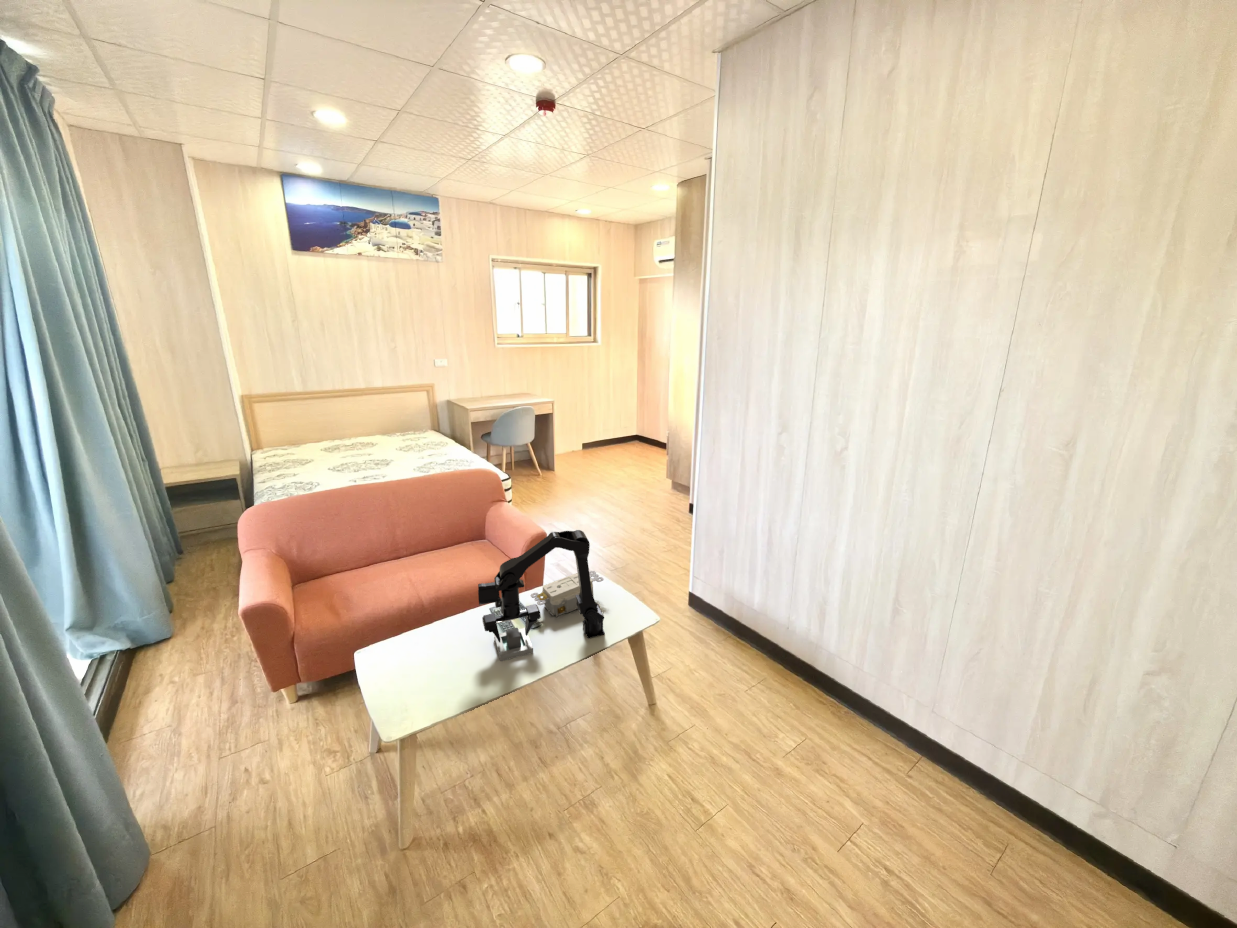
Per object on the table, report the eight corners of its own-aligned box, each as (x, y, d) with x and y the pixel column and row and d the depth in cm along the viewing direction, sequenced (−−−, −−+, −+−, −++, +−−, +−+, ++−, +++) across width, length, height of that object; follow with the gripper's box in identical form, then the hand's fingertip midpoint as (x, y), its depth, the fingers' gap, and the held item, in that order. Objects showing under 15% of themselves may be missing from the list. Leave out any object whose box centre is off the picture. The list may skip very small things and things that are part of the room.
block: (518, 639, 170) (517, 627, 168) (521, 648, 165) (520, 635, 164) (506, 642, 168) (505, 630, 167) (509, 651, 164) (508, 638, 162)
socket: (525, 632, 174) (525, 627, 173) (533, 652, 164) (532, 647, 163) (494, 639, 170) (494, 634, 169) (500, 661, 159) (500, 656, 159)
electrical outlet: (607, 599, 194) (606, 577, 191) (543, 626, 180) (540, 603, 176) (592, 585, 203) (591, 565, 200) (530, 610, 189) (527, 589, 186)
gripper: (532, 581, 172) (534, 619, 176) (478, 592, 165) (481, 631, 169) (540, 597, 162) (541, 636, 167) (483, 609, 155) (486, 650, 160)
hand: (513, 638), depth 166 cm, fingers open, 9 cm apart
